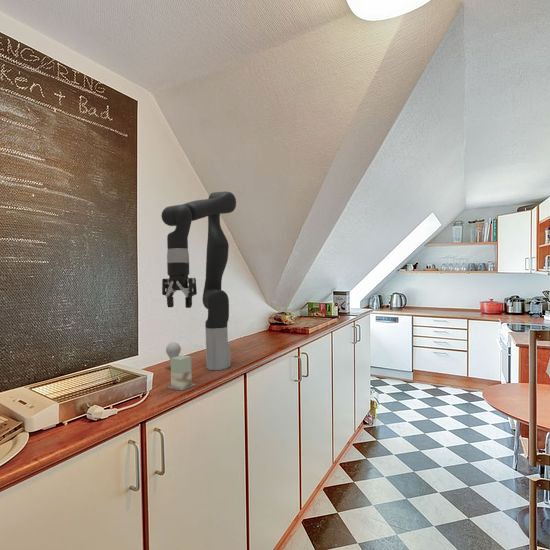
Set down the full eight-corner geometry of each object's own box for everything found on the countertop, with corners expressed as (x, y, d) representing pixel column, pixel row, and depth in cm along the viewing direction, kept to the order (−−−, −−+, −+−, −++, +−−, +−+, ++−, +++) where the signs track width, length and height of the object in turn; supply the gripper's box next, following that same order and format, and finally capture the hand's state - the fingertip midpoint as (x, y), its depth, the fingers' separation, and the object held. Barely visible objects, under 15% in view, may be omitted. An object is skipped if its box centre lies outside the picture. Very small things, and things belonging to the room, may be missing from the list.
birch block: (181, 382, 128) (180, 368, 128) (191, 384, 126) (191, 370, 126) (171, 386, 124) (170, 372, 124) (181, 388, 122) (181, 374, 122)
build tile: (181, 382, 130) (181, 381, 130) (196, 385, 126) (196, 383, 126) (166, 388, 124) (166, 387, 124) (182, 391, 120) (182, 389, 120)
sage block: (181, 368, 128) (180, 355, 128) (191, 370, 126) (191, 356, 126) (170, 372, 124) (170, 358, 124) (181, 374, 122) (181, 359, 122)
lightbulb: (175, 365, 155) (175, 340, 155) (184, 367, 152) (183, 341, 152) (163, 368, 151) (162, 342, 151) (172, 370, 147) (171, 344, 147)
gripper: (155, 262, 125) (157, 308, 125) (185, 260, 118) (187, 309, 118) (171, 262, 132) (172, 306, 132) (200, 261, 125) (202, 306, 125)
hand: (179, 307), depth 125 cm, fingers open, 8 cm apart
